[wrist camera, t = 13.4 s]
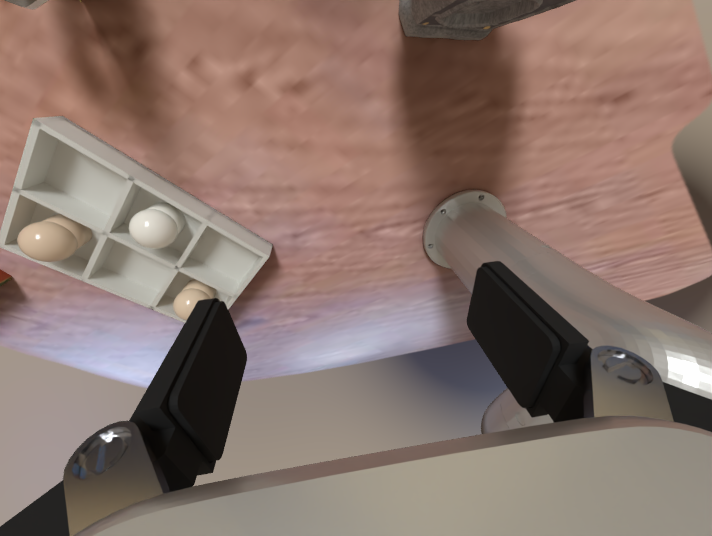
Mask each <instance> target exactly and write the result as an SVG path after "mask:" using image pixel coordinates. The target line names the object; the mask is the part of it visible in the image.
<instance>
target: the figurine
mask: <svg viewBox="0 0 712 536" xmlns="http://www.w3.org/2000/svg"><path fill="white" fill-rule="evenodd" d="M573 1H576V0H400V3H399V17H400V20H401V23H402V26H403V29H404V32H405V35H406V36H412V37H425V38H449V39H456V40H481V39H483V38H485V37H486V36H487V35H488V34H489V33H490V32H491V31H492V29H494V28H497V27H500V26H503V25H506V24H509V23H512V22H516V21H519V20H522V19H525V18H528V17H531V16H534V15H537V14H540V13H543V12H546V11H549V10H551V9H554V8H557V7H560V6H563V5H565V4H568V3H570V2H573Z"/></svg>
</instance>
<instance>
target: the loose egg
mask: <svg viewBox="0 0 712 536" xmlns="http://www.w3.org/2000/svg"><path fill="white" fill-rule="evenodd" d="M185 225H186V219H185V216H184V214H183V213H182V212H181V210H180V209H178V208H176V207H175V206H173V205H171V204H169V203H166V202H158V203H155V204H153V205H152V206H150V207H149V208H147V209H146V210H143V211H140V212H138V213H137V214H135V215H134V216H133V217H132V219H131V220H130V223H129V232H130V235H131V236H132V238H133V239H134V240H135V241H136V242H137V243H138V244H140V245H141V246H143V247H146V248H150V249H160V248H164V247H167V246H169V245H170V244H172V243H173V242H174V240H175V239H176V237H177V235H178V234H179V233H180V232H181V231H182V230H183V229H184V227H185Z"/></svg>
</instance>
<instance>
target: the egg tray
mask: <svg viewBox="0 0 712 536" xmlns="http://www.w3.org/2000/svg"><path fill="white" fill-rule="evenodd" d="M158 202H166V203H169V204H171V205H173V206H175V207H176V208H178V209H180V210H181V212H182V213H183V214H184V216H185V219H186V225H185V227H184V229H183V230H182V231H181V232H180V233H179V234H178V235H177V237H176V239H175V240H174V242H173V243H172V244H170V245H169V246H167V247H164V248H160V249H150V248H146V247H143V246H141V245H140V244H138V243H137V242H136V241H135V240H134V239H133V238H132V236H131V235H130V232H129V223H130V220H131V219H132V217H133V216H134V215H135V214H137V213H138V212H140V211H143V210H146V209H147V208H149V207H150V206H152V205H153V204H155V203H158ZM56 214H62V215H64V216H66V217H68V218H70V219H72V220H74V221H76V222H78V223H80V224H82V225H84V226H86V227H88V228H90V229H91V231H92V239H91V240H90V241H89V242H88V243H86V244H85V245H83V246H82V247H80V248H79V249H77V250H76V251H75V252H74V254H73V255H71V256H70V257H68V258H66V259H64V260H61V261H56V262H44V261H38V260H35V259H33V258H30V257H29V256H27V255H26V254H24V253H23V252H22V251H21V249H20V248H19V246H18V242H17V238H18V235H19V233H20V231H21V230H22V229H23V228H25V227H26V226H28V225H30V224H32V223H36V222H41V221H43V220H45V219H47V218H50V217H52V216H54V215H56ZM272 246H273V244H271V243H269V242H268V241H266V240H264V239H263V238H261V237H259V236H258V235H256V234H255V233H253V232H251V231H250V230H248V229H246V228H245V227H243V226H241V225H240V224H238V223H237V222H235V221H233V220H232V219H230V218H228V217H227V216H225V215H223V214H222V213H220V212H219V211H217V210H215V209H214V208H212V207H210V206H209V205H207V204H206V203H204V202H202V201H201V200H199V199H197V198H196V197H194V196H192V195H191V194H189V193H188V192H186V191H184V190H183V189H181V188H179V187H178V186H176V185H174V184H173V183H171V182H170V181H168V180H166V179H165V178H163V177H161V176H160V175H158V174H156V173H155V172H153V171H152V170H150V169H148V168H147V167H145V166H143V165H142V164H140V163H139V162H137V161H135V160H134V159H132V158H130V157H129V156H127V155H125V154H124V153H122V152H121V151H119V150H117V149H116V148H114V147H112V146H111V145H109V144H107V143H106V142H104V141H103V140H101V139H99V138H98V137H96V136H94V135H93V134H91V133H89V132H88V131H86V130H85V129H83V128H81V127H80V126H78V125H76V124H75V123H73V122H71V121H70V120H68V119H67V118H65V117H63V116H55V117H43V118H33V121H32V125H31V128H30V131H29V135H28V138H27V142H26V145H25V149H24V152H23V155H22V159H21V162H20V166H19V169H18V173H17V176H16V179H15V183H14V186H13V190H12V193H11V197H10V200H9V203H8V207H7V210H6V214H5V217H4V221H3V224H2V227H1V231H0V248H3V249H5V250H8V251H10V252H13V253H15V254H17V255H20V256H22V257H25V258H27V259H30V260H32V261H35V262H37V263H40V264H42V265H44V266H47V267H49V268H52V269H54V270H57V271H59V272H62V273H64V274H66V275H69V276H71V277H74V278H76V279H79V280H81V281H84V282H86V283H89V284H91V285H93V286H96V287H98V288H101V289H103V290H106V291H108V292H111V293H113V294H115V295H118V296H120V297H123V298H125V299H128V300H130V301H133V302H135V303H138V304H140V305H142V306H145V307H147V308H150V309H152V310H155V311H157V312H160V313H162V314H164V315H167V316H169V317H172V318H174V319H177V320H179V321H182V322H184V323H186V320H183V319H181V318H179V317H178V316H177V315H176V314H175V312H174V309H173V302H174V299H175V298H176V296H177V295H178V294H179V293H180V292H182V290H183V289H184V287H185V286H186V284H187V283H188V282H189V281H190V280H192V279H196V280H198V281H200V282H202V283H204V284H206V285H208V286H211V287H213V288H215V289H216V296H215V298H218V299H219V301H224V302H225V304H226V306H227V309H229V308H230V307H231V305H232V304H233V303H234V302H235V300H236V299H237V298H238V296H239V295H240V294H241V293H242V291H243V290H244V289H245V287H246V286H247V285H248V284H249V282H250V281H251V280H252V278H253V277H254V276H255V275H256V273H257V272H258V271H259V269H260V268H261V267H262V266H263V264H264V263H265V262H266V261H267V259H268V258H269V256H270V253H271V249H272Z"/></svg>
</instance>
